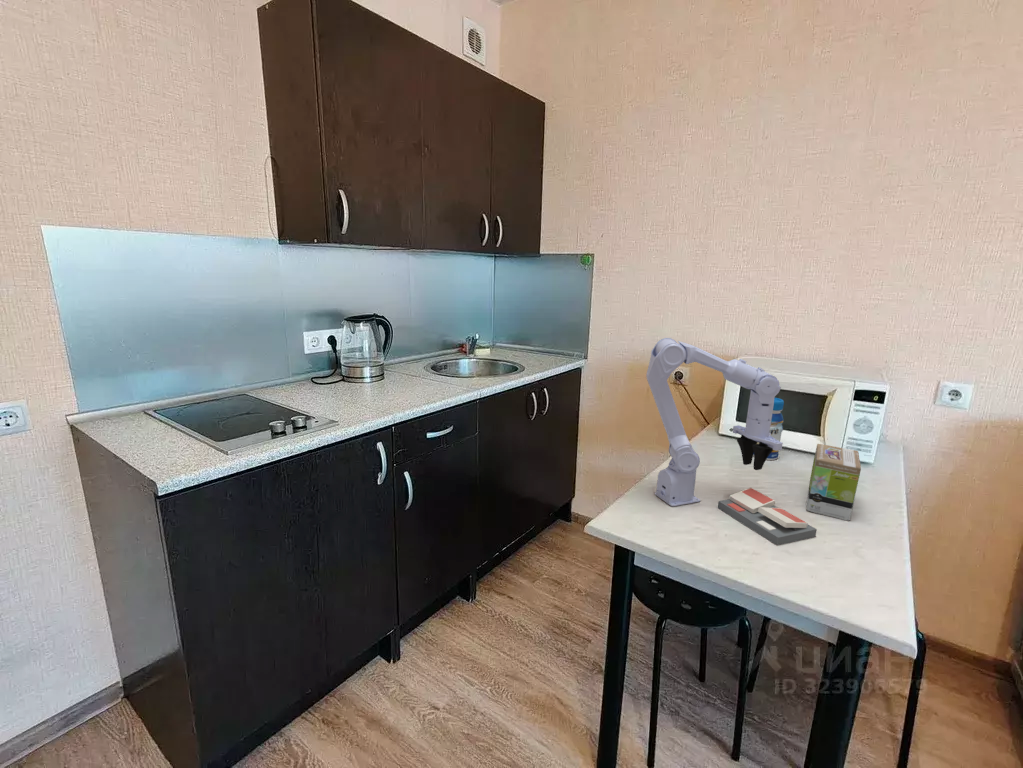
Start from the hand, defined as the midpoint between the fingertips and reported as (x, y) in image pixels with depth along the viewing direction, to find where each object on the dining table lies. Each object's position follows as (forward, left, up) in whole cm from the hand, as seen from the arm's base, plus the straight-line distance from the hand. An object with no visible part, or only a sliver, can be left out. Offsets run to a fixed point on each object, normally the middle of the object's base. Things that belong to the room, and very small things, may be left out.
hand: (752, 466), depth 132 cm
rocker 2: (-3, -14, -7) cm, 16 cm away
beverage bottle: (+32, +25, -11) cm, 42 cm away
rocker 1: (-3, -4, -7) cm, 9 cm away
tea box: (+20, -8, -11) cm, 24 cm away
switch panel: (-4, -9, -10) cm, 15 cm away
